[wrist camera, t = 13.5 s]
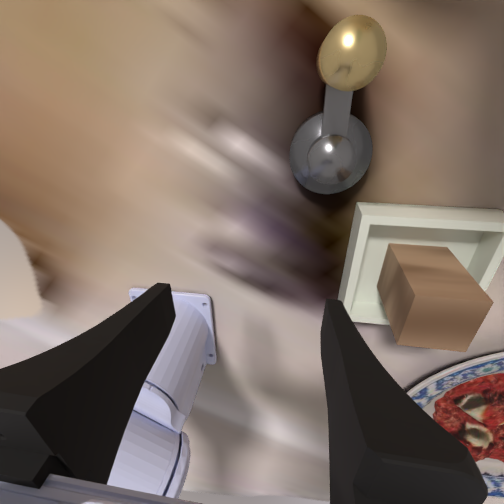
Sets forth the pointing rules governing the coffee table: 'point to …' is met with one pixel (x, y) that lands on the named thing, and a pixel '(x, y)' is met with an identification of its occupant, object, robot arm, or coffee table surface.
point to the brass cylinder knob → (343, 92)
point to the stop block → (430, 297)
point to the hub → (310, 133)
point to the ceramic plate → (471, 411)
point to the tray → (415, 233)
